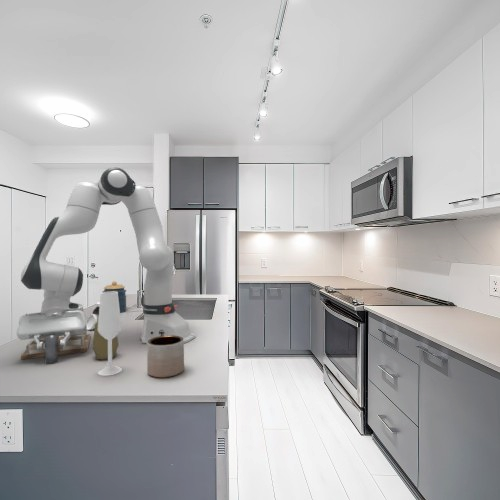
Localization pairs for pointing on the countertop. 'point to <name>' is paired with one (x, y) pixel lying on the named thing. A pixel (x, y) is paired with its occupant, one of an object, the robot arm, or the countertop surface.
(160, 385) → the countertop surface
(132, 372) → the countertop surface
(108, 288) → the canister
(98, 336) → the squeeze bottle
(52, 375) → the countertop surface
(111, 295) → the champagne flute
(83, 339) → the wooden compartment tray
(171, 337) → the planter
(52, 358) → the pin
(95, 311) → the spread jar
